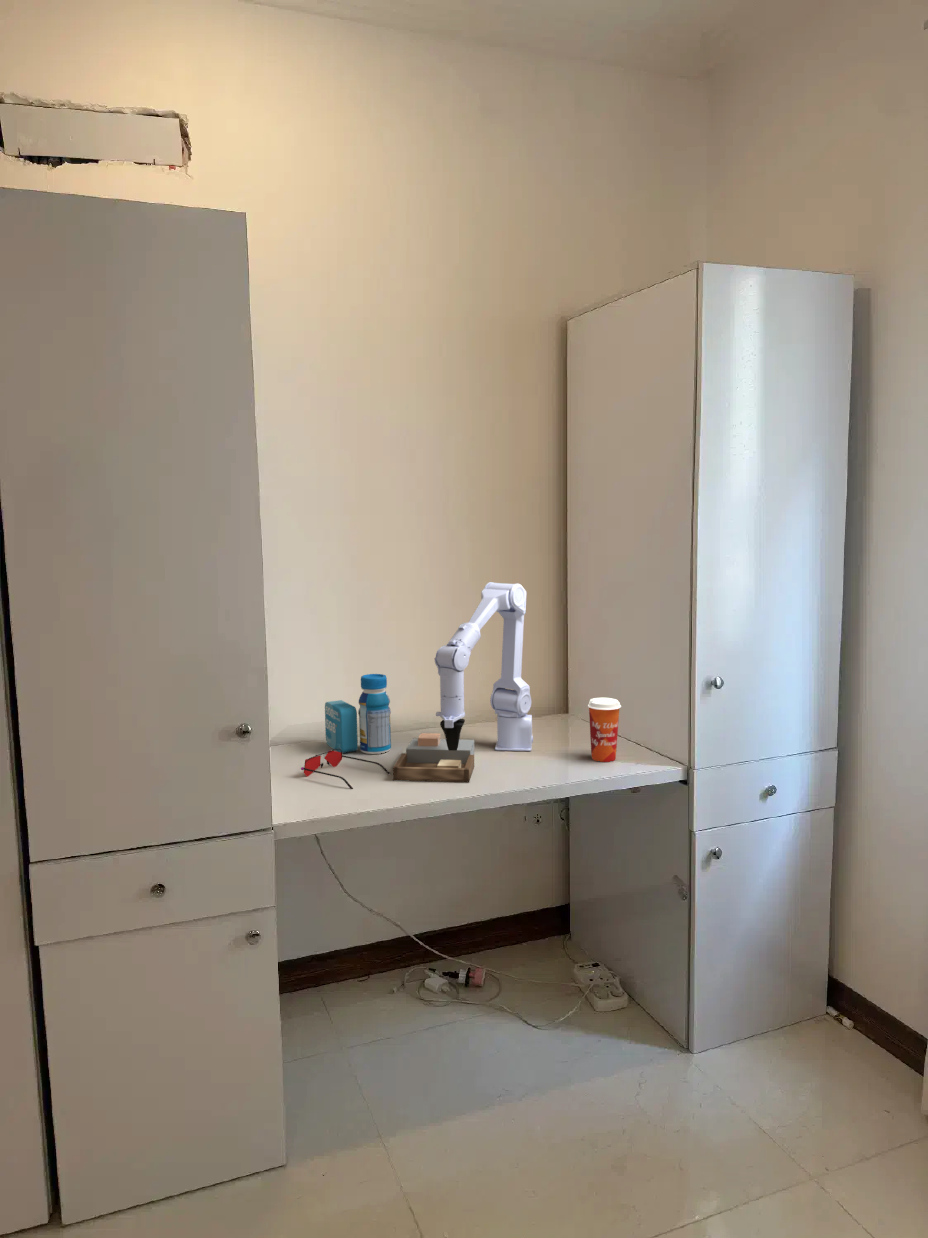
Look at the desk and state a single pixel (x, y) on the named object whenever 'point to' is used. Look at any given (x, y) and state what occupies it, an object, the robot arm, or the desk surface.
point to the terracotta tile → (429, 739)
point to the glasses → (333, 759)
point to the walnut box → (431, 771)
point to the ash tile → (449, 764)
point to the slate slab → (439, 752)
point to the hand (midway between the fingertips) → (452, 749)
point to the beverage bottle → (374, 715)
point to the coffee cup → (603, 728)
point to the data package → (341, 726)
